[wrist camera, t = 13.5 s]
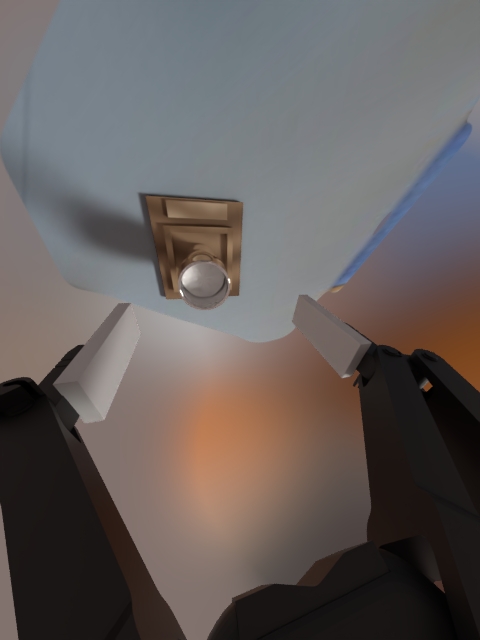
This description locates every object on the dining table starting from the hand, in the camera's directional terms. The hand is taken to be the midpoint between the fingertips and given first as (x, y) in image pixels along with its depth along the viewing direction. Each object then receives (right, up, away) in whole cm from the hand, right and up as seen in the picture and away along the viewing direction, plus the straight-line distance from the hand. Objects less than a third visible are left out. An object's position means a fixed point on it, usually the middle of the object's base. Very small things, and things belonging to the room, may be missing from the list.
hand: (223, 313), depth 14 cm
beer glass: (-7, +11, +20) cm, 24 cm away
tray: (-7, +13, +20) cm, 25 cm away
